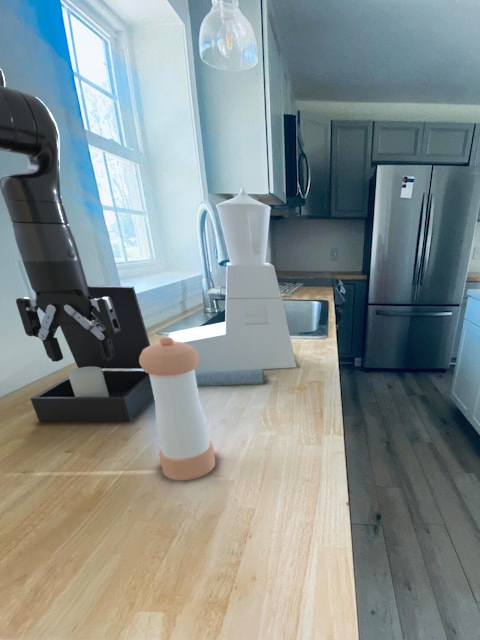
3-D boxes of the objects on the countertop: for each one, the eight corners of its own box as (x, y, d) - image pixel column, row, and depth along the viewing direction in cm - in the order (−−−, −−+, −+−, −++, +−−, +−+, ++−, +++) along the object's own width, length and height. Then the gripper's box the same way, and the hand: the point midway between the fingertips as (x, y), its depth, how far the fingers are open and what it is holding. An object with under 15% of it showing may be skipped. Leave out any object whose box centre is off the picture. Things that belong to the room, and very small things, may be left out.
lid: (132, 287, 66) (142, 278, 70) (42, 286, 65) (59, 277, 70) (155, 368, 76) (163, 356, 80) (78, 368, 75) (90, 356, 80)
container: (75, 418, 66) (61, 375, 62) (90, 406, 70) (77, 366, 67) (104, 417, 66) (92, 375, 62) (117, 406, 71) (106, 366, 67)
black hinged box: (131, 425, 65) (124, 398, 63) (40, 426, 64) (30, 398, 62) (161, 393, 79) (156, 369, 77) (87, 393, 78) (79, 369, 76)
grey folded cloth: (160, 391, 80) (157, 376, 79) (166, 380, 86) (163, 366, 84) (264, 386, 84) (263, 372, 82) (263, 376, 90) (262, 363, 88)
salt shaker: (188, 488, 49) (161, 348, 40) (152, 473, 52) (119, 339, 43) (226, 463, 55) (209, 335, 46) (191, 451, 58) (169, 328, 49)
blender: (161, 378, 88) (121, 176, 69) (170, 356, 103) (140, 187, 85) (297, 370, 95) (294, 186, 76) (286, 351, 111) (281, 195, 92)
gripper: (110, 257, 60) (133, 354, 68) (20, 256, 59) (53, 354, 67) (86, 259, 53) (115, 366, 61) (-16, 258, 53) (26, 367, 60)
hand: (83, 360), depth 64 cm, fingers open, 8 cm apart
